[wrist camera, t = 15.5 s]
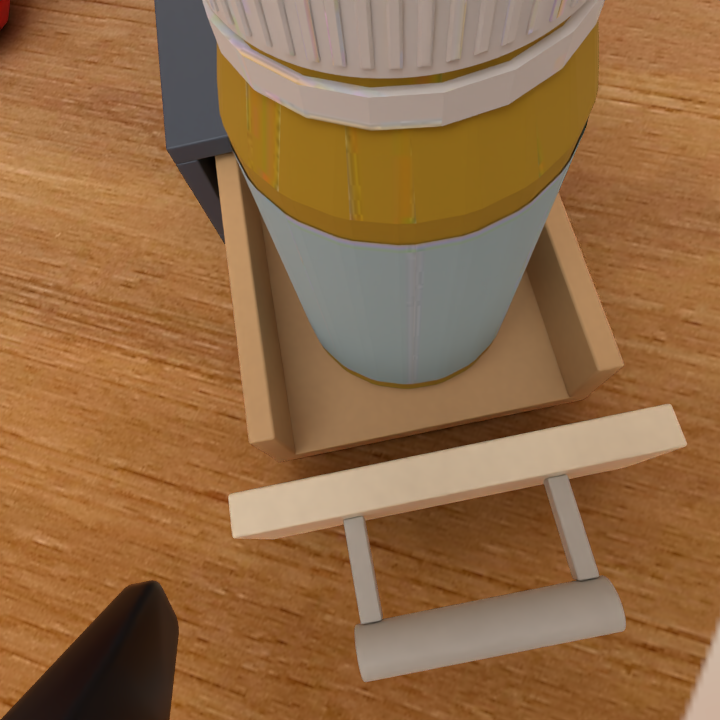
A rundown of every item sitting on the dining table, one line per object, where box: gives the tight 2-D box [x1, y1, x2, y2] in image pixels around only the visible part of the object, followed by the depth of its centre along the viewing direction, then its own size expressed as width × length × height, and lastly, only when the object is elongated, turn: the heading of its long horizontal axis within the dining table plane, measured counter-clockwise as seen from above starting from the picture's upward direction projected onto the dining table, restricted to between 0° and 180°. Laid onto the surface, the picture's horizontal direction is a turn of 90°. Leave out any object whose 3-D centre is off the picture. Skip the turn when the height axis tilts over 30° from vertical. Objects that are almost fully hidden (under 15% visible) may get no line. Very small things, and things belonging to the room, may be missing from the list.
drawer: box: [215, 152, 687, 682], centre depth 18 cm, size 20×12×4 cm, turn 11°
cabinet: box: [154, 0, 233, 244], centre depth 23 cm, size 17×14×6 cm
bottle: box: [202, 0, 605, 389], centre depth 12 cm, size 7×7×15 cm
